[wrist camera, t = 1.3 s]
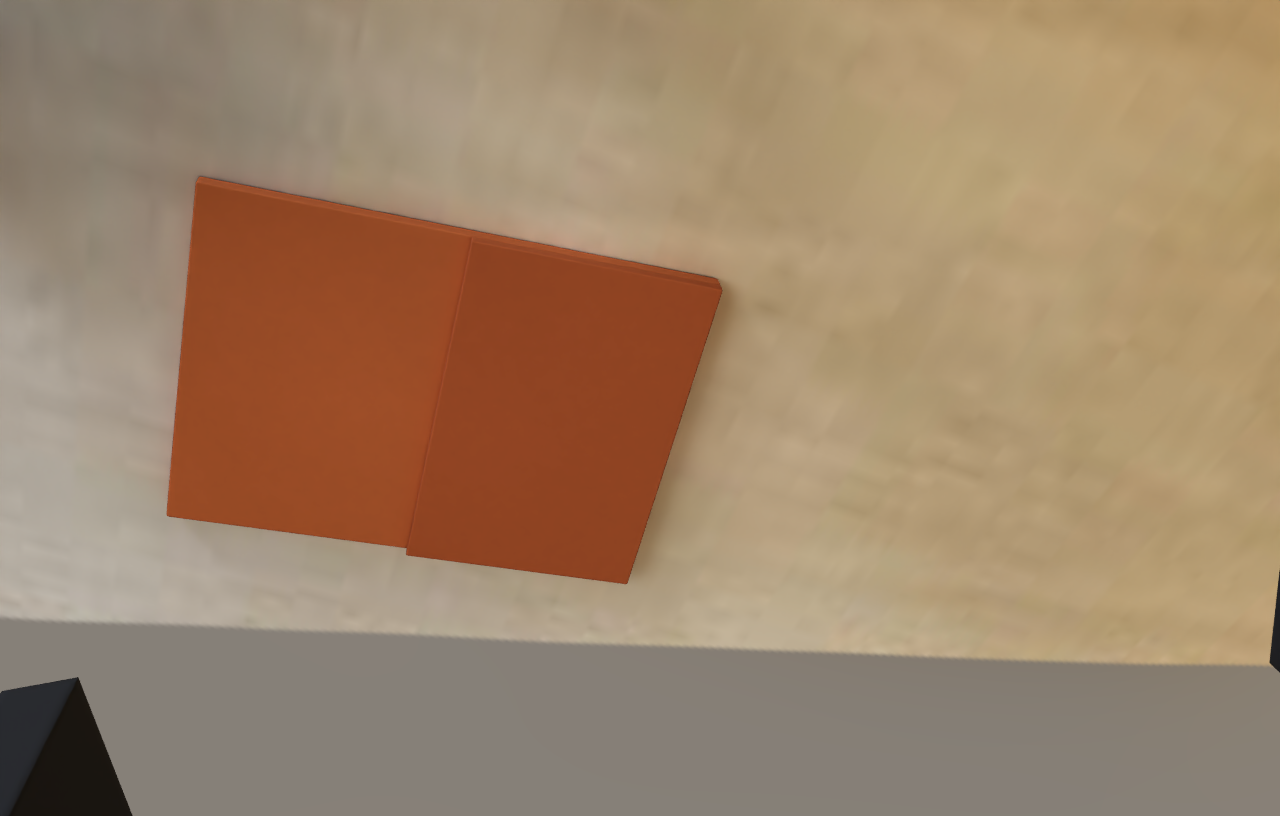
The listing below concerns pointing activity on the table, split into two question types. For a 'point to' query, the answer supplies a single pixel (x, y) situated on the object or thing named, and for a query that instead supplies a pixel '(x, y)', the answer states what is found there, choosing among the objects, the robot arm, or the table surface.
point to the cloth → (426, 384)
